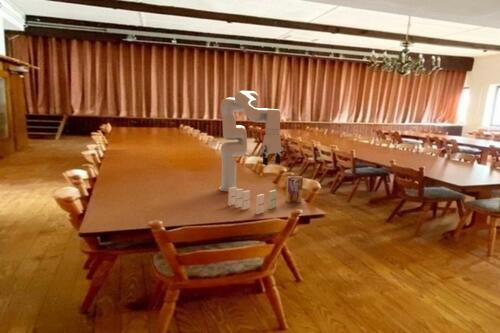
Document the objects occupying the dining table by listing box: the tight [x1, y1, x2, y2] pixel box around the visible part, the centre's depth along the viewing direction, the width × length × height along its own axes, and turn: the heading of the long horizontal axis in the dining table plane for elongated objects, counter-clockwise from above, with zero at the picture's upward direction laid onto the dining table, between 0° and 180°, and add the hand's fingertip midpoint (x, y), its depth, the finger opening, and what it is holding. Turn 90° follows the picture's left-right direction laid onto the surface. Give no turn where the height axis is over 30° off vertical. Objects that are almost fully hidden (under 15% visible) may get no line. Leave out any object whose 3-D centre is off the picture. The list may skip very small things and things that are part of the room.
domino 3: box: [240, 189, 251, 211], centre depth 190 cm, size 2×5×10 cm, turn 140°
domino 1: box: [227, 186, 237, 207], centre depth 196 cm, size 2×5×10 cm, turn 140°
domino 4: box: [255, 193, 265, 215], centre depth 183 cm, size 2×5×10 cm, turn 139°
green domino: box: [267, 189, 278, 210], centre depth 193 cm, size 2×5×10 cm, turn 139°
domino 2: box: [234, 187, 245, 209], centre depth 193 cm, size 2×5×10 cm, turn 139°
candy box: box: [285, 175, 304, 203], centre depth 207 cm, size 9×4×15 cm, turn 96°
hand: (271, 163), depth 187 cm, fingers open, 9 cm apart
